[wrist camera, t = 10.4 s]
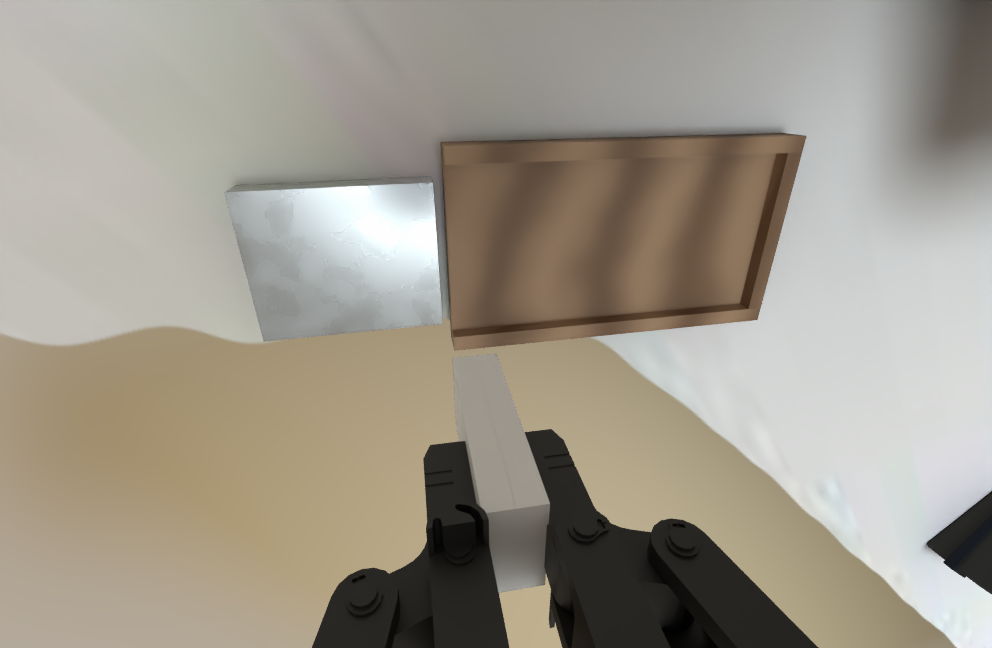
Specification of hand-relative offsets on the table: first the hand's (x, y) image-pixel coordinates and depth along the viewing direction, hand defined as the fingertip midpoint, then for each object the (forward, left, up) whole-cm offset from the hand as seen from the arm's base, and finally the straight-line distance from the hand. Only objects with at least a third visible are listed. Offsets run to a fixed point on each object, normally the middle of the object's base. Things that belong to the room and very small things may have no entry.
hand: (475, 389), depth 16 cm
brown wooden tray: (-12, 0, -16) cm, 20 cm away
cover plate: (+6, 0, -17) cm, 18 cm away
